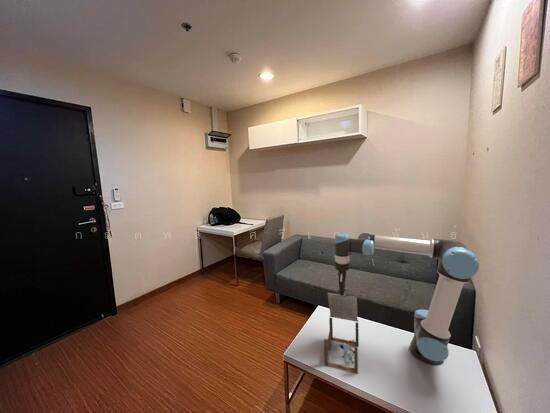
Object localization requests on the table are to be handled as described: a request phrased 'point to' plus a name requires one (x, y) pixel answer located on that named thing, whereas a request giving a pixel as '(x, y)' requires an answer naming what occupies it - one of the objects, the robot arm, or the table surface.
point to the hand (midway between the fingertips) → (342, 302)
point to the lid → (343, 306)
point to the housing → (330, 338)
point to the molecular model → (347, 351)
